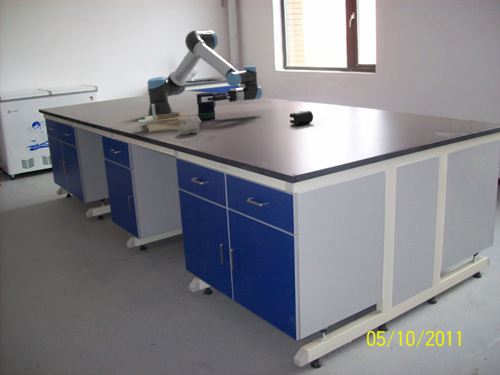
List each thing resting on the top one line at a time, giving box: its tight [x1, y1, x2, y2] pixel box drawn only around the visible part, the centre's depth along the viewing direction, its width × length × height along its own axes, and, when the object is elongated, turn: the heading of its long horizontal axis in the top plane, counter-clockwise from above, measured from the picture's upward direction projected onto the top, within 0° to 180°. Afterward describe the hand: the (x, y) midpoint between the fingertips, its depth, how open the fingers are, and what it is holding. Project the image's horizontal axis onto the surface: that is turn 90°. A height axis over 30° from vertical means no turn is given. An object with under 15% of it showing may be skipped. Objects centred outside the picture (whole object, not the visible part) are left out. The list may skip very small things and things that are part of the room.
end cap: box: [289, 110, 314, 127], centre depth 258 cm, size 10×7×7 cm
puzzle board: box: [144, 111, 193, 133], centre depth 284 cm, size 30×24×5 cm
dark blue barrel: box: [195, 92, 216, 122], centre depth 295 cm, size 10×10×15 cm
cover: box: [138, 104, 157, 125], centre depth 271 cm, size 9×9×9 cm
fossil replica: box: [177, 117, 202, 136], centre depth 256 cm, size 12×8×10 cm
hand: (199, 98), depth 293 cm, fingers open, 13 cm apart
